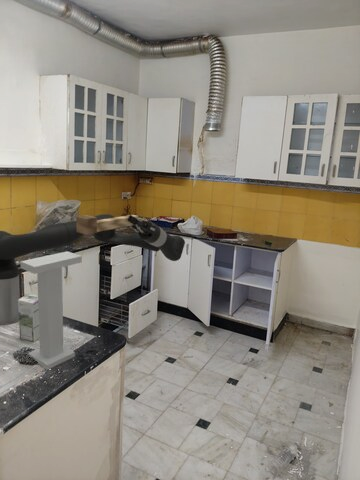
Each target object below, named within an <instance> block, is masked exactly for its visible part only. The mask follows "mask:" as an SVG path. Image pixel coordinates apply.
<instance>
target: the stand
mask: <svg viewBox="0 0 360 480" xmlns="http://www.w3.org/2000/svg"><path fill="white" fill-rule="evenodd" d="M82 257H83V256H82V255H79V254H78V253H77V254H76V253H73V252H71V251H62V252H59V253H53V254H49V255H44V256H40V257H35V258H29V259H27V260H21V261H20V269H21V270H25V271H26V272H29V273H31V274H34V275H36V277H37V278H36V279H37V296H38V310H39V339H38V340H39V348H36V349H35V350H32V351H29V352H28V353H27V354H28V355H30V356H31V357H33V358H34V359H35V360H36V361H37V362H38V363H37V364H38V365H40V366H41V367H42V368H44V369H45V370H47V371H48V370H49V369H51V368H54V367H57V366H58V365H60V364H62V363H64V362H67V361H68V360H71V359H73V358H75V357H76V352H75V351H74V350H72V349H70V348H68V347H67V346H65V345H64V320H63V319H64V312H63V268H64V267H68V266H69V267H70V266H72V265H76V264H81V263H82V262H83V261H82ZM28 355H27V356H28Z"/></svg>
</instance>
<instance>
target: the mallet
mask: <svg viewBox="0 0 360 480" xmlns="http://www.w3.org/2000/svg"><path fill="white" fill-rule="evenodd" d="M126 215H127V214H126ZM129 215H130V214H129ZM129 215H127V216H114V217H115V218H108V219H102V220H97V217H93V215H88V214H85V215H78V216H76V218H75V219H76V220H75V221H76V225H77V232H78V233H82V234H84V235H88V236H89V235H92V234H93V235H94V233H97V232H99V231H105V230H110V229H115V228H116V229H120V228H125V227H127V226H131V225H134V224H132V223H131V222H129V221H128V217H129ZM131 215H132V216H133V217H135V218H136V219H139V215H135V214H131Z"/></svg>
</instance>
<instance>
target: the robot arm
mask: <svg viewBox="0 0 360 480" xmlns="http://www.w3.org/2000/svg"><path fill="white" fill-rule="evenodd" d="M132 215H133V214H129V217H128V221H129V222H131V223H132V224H134V225H131V226H126V227H127V228H130V229H132V230H134V231H135V232H134V233H131V234H127V235H126V234H125V235H120V234H117V233H116V229H117V228H115V229H110V230H105V231H99V232H97V233H94V234H93V238H94V239H95V240H97V241H99V242H101V243H107V244H115V245H122V246H131V247H137V248H142V249H145V250H149V251H152V252H159V251H161V253H162V255H164V257H165V258H166V259H167V260H169V261H172V262H176V261H179V260H180V259H181V258H182V254H183V252H184V251H183V250H184V247H185V244H186V241H185V239H184V238H183V237H182V236H180V235H171V234H169V233H168V232H167V231H165V230H164V229H163V228H162V227H160V226H159V225H157V224H156V223H154V222H152V221H149V220H148V221H145V220H141V219H139V218H138V219H136V218H135V217H133V216H132ZM92 216H93V215H92ZM121 216H127V214H125V213H122V214H121ZM121 216H120V217H121ZM93 217H97V220H102V219H108V218H115V217H116V216H115V215H112V214H106V213H105V214H97V215H94V216H93ZM84 235H85V234H82V233H78V232H77V225H76V220H74V221H66V222H59V223H54V224H50V225H49V224H48V225H47V226H44V227H42V228H40V229H38V230H37V231H34V232H29V233H22V234H11V233H9V232H7V231H5V230H0V325H10V324H14V323H16V322H19V311H18V300H19V299H20V298H21V294H20V272H19V267H18V265H17V262H16V261H15V260H16V259H17V258H19V257H22V256H26V255H29V254H32V253H35V252H41V251H47V250H53V249H59V248H62V247H68V246H70V245H73V244H74V243H75V242H76V241H78V240H80V238H81V237H83V236H84Z"/></svg>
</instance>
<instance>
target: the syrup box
mask: <svg viewBox="0 0 360 480" xmlns="http://www.w3.org/2000/svg"><path fill="white" fill-rule="evenodd" d="M18 311H19V320H18V325H19V326H18V327H19V328H18V329H19V339H20V340H23V341H28V342H32V343H33V342H36V341H37V340H40V339H39V310H38V295H34V294H26V295H24V296H22V297H20V299H19V300H18Z"/></svg>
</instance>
